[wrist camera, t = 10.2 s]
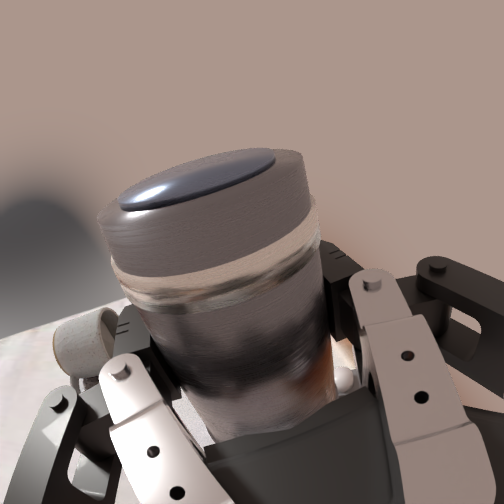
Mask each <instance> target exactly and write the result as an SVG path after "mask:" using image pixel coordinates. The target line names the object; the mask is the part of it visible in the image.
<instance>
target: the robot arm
mask: <svg viewBox="0 0 504 504" xmlns="http://www.w3.org/2000/svg"><path fill="white" fill-rule="evenodd" d="M319 252H320V259H321V266H322V273H323V280H324V287H325V295H326V302H327V310H328V319H329V327H330V334H331V335H332V337H333V338H334V339H335V341H336V342H338V341H340V340H342V339H345V338H348V340H349V341H350V342H351V343H352V350H353V356H354V361H355V366H356V371H357V377H358V382H359V388H360V389H358V390H355V391H353V392H351V393H349V394H347V395H345V396H343V397H341V398H339V399H336V400H334V401H332V402H330V403H328V404H326V405H325V406H324V407H322V408H321V409H320V410H318V411H317V412H315V413H314V414H312V415H311V416H310V417H308V418H307V419H305V420H304V421H302V422H301V423H299V424H298V425H296V426H295V427H293V428H291V429H287V430H281V431H274V432H267V433H258V434H249V435H243V436H240V437H236V438H233V439H230V440H226V441H223V442H219V443H216V444H212V445H208V446H205V447H204V451H205V452H204V451H203V450H202V448H201V447H200V446H199V444H198V443H197V441H196V440H195V439H194V437H193V436H192V434H191V433H190V431H189V430H188V429H187V427H186V426H185V424H184V423H183V421H182V420H181V418H180V417H179V415H178V414H177V412H176V411H175V410H174V408H173V407H172V401H173V400H177V399H181V398H182V396H181V388H180V385H179V383H178V381H177V380H176V378H175V376H174V375H173V373H172V371H171V370H170V368H169V366H168V365H167V363H166V361H165V360H164V358H163V356H162V354H161V353H160V351H159V349H158V347H157V345H156V344H155V342H154V340H153V338H152V336H151V335H150V333H149V331H148V329H147V327H146V325H145V323H144V322H143V320H142V318H141V316H140V314H139V312H138V310H137V308H136V306H135V305H134V304H133V303H132V305H129V306H126V307H125V308H124V309H123V311H122V312H121V314H120V315H119V318H118V324H117V326H118V327H117V330H116V337H115V343H114V350H113V358H112V359H111V360H109V361H108V362H107V363H106V364H105V365H104V366H103V368H102V369H101V371H100V374H99V383H98V384H97V385H95V386H93V387H91V388H90V389H88V390H86V391H84V392H82V393H80V394H78V393H77V392H76V390H75V389H74V388H73V387H71V386H61V387H58V388H56V389H54V390H53V391H51V392H50V393H49V394H48V395H47V396H46V398H45V399H44V401H43V403H42V405H41V407H40V409H39V412H38V414H37V416H36V418H35V421H34V423H33V425H32V428H31V430H30V432H29V435H28V437H27V439H26V442H25V444H24V447H23V449H22V452H21V454H20V457H19V460H18V462H17V465H16V468H15V470H14V473H13V476H12V479H11V482H10V485H9V488H8V491H7V494H6V497H5V500H4V503H3V504H114V503H115V498H116V493H117V488H118V483H119V478H120V474H121V469H122V465H123V467H124V470H125V472H126V474H127V476H128V478H129V481H130V483H131V485H132V487H133V489H134V491H135V493H136V495H137V497H138V499H139V501H140V503H141V504H504V413H498V412H493V411H488V410H483V409H478V408H473V407H468V406H464V405H462V403H461V400H460V397H459V395H458V392H457V389H456V387H455V385H454V382H453V380H452V377H451V375H450V372H449V370H448V368H447V365H446V363H447V364H449V365H450V366H452V367H453V368H455V369H457V370H458V371H460V372H461V373H463V374H464V375H466V376H468V377H469V378H471V379H472V380H474V381H476V382H477V383H479V384H480V385H482V386H483V387H485V388H487V389H488V390H490V391H491V392H493V393H495V394H496V395H498V396H499V397H501V398H502V399H504V282H502V281H500V280H498V279H496V278H493V277H491V276H489V275H486V274H484V273H482V272H480V271H477V270H475V269H472V268H470V267H468V266H465V265H463V264H460V263H458V262H456V261H453V260H451V259H448V258H445V257H440V256H432V257H427V258H424V259H422V260H420V261H419V263H418V264H417V269H416V275H415V276H409V277H404V278H399V279H395V278H394V277H393V275H392V274H391V273H389V272H387V271H385V270H382V269H363V268H362V267H361V266H360V265H359V264H357V263H356V262H355V261H354V260H352V259H351V258H350V257H349V256H346V254H345V253H344V252H342V251H340V249H339V248H338V247H336V246H335V245H334V244H332V243H329V242H326V241H323V240H320V245H319ZM452 307H454V308H455V309H458V310H459V311H461V312H463V313H465V314H467V315H469V316H471V317H473V318H475V319H476V320H477V321H478V322H479V324H480V326H481V334H479V333H477V332H476V331H474V330H472V329H470V328H468V327H466V326H465V325H463V324H461V323H459V322H457V321H455V320H453V319H451V318H450V317H451V312H452ZM74 448H76V449H77V450H78V451H79V452H80V453H81V455H80V458H79V461H78V465H77V468H76V471H75V475H74V478H73V482H72V484H71V483H70V481H69V479H68V475H67V470H68V467H69V463H70V460H71V457H72V454H73V451H74Z"/></svg>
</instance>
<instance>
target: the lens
mask: <svg viewBox="0 0 504 504" xmlns="http://www.w3.org/2000/svg"><path fill="white" fill-rule="evenodd" d="M97 222H98V224H99V227H100V229H101V232H102V234H103V236H104V239H105V241H106V243H107V246H108V248H109V251H110V253H111V255H112V256H111V265H112V268H113V270H114V272H115V274H116V276H117V278H118V280H119V283H120V284H121V287H122V289H123V291H124V293H125V295H126V297H127V298H128V300H129V301H130V302H131V303H133V304H134V305H135V306H136V308H137V310H138V312H139V314H140V316H141V318H142V320H143V322H144V323H145V325H146V327H147V329H148V331H149V333H150V335H151V336H152V338H153V340H154V342H155V344H156V345H157V347H158V349H159V351H160V353H161V354H162V356H163V358H164V360H165V361H166V363H167V365H168V366H169V368H170V370H171V371H172V373H173V375H174V376H175V378H176V380H177V381H178V383H179V385H180V386H181V388H182V389H183V391H184V393H185V394H186V396H187V397H188V399H189V401H190V402H191V404H192V405H193V407H194V408H195V410H196V411H197V413H198V414H199V416H200V417H201V419H202V420H203V422H204V423H205V425H206V428H207V430H208V433H209V434H210V436H211V438H212V439H213V441H214V442H215V443H219V442H223V441H226V440H230V439H233V438H236V437H240V436H243V435H249V434H258V433H267V432H274V431H281V430H287V429H291V428H293V427H295V426H296V425H298V424H299V423H301V422H302V421H304V420H305V419H307V418H308V417H310V416H311V415H312V414H314V413H315V412H317V411H318V410H320V409H321V408H322V407H324V406H325V405H326V404H328V403H330V402H332V401H334V400H336V399H339V394H338V389H337V386H336V383H335V377H334V366H333V356H332V346H331V336H330V327H329V319H328V310H327V302H326V295H325V287H324V280H323V273H322V266H321V259H320V252H319V245H320V240H321V233H320V226H319V220H318V214H317V208H316V202H315V199H314V197H313V196H312V195H311V194H310V193H309V187H308V182H307V177H306V171H305V166H304V161H303V156H302V155H301V153H299V152H296V151H293V150H283V149H273V150H272V149H269V148H250V149H241V150H235V151H229V152H224V153H220V154H215V155H211V156H207V157H204V158H200V159H197V160H194V161H190V162H187V163H184V164H181V165H178V166H175V167H172V168H170V169H167V170H165V171H162V172H160V173H158V174H155V175H153V176H151V177H149V178H146V179H144V180H142V181H140V182H139V183H137V184H135V185H133V186H132V187H130V188H128V189H127V190H125V191H124V192H123V193H122V194H121V195H120V196H119V197H118V198H116V199H115V200H114V201H112V202H111V203H109V204H108V205H107V206H106V207H105V208H103V209H102V210H101V212H100V213H99V214H98V216H97Z"/></svg>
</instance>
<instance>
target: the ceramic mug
mask: <svg viewBox="0 0 504 504" xmlns="http://www.w3.org/2000/svg"><path fill="white" fill-rule="evenodd" d="M118 318H119V316H118V315H117V313H116V312H115V311H114V310H112V309H110V308H107V307H106V308H101V309H99V310H96V311H94V312H91V313H89V314H86V315H83V316H81V317H78V318H76V319H73V320H70V321H67V322H65V323H64V324H62V325H61V326H59V327H58V328H57V329H56V331H55V333H54V336H53V351H54V355H55V358H56V361H57V363H58V364H59V366H60V368H61V369H62V370H63V371H64V372H65V373H66V374H67V375H69V376H70V384H71V387H73V388H74V389H75V390H76V392H77V393H78V394H80V393H81V392H80V389H79V378H89V377H95V376H99V374H100V371H101V369H102V368H103V366H104V365H105V364H106V363H107V362H108V361H109V360H111V359H112V358H113V350H114V343H115V337H116V330H117V327H118V326H117V324H118Z"/></svg>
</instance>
